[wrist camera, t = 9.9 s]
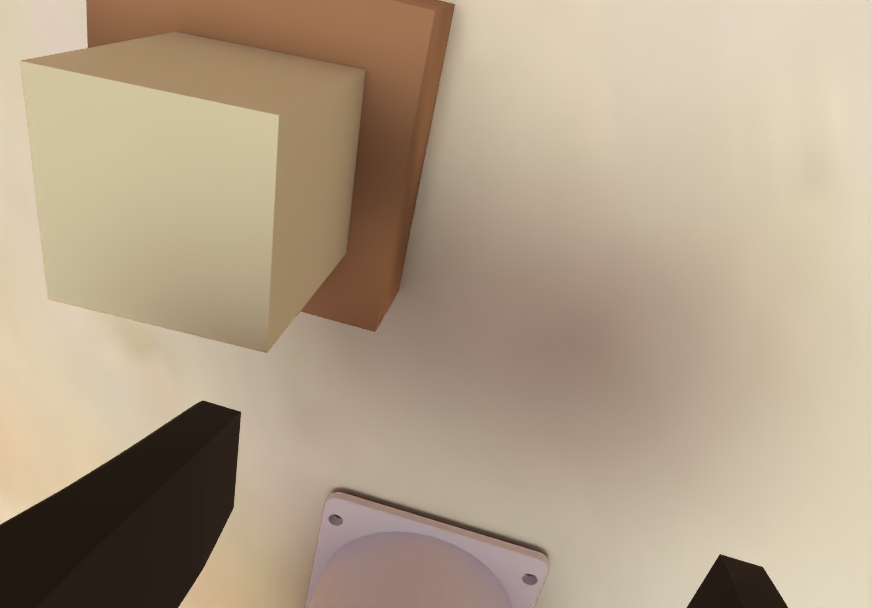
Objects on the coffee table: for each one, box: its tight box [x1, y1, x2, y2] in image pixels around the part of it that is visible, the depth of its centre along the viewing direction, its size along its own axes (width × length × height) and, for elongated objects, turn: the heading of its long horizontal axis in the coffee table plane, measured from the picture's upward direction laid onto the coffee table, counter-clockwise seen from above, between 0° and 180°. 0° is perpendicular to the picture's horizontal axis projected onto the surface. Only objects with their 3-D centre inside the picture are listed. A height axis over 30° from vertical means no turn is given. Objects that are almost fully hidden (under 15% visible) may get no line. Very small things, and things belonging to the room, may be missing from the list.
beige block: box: [20, 32, 366, 353], centre depth 15 cm, size 4×4×5 cm
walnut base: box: [86, 0, 455, 332], centre depth 18 cm, size 8×8×3 cm
